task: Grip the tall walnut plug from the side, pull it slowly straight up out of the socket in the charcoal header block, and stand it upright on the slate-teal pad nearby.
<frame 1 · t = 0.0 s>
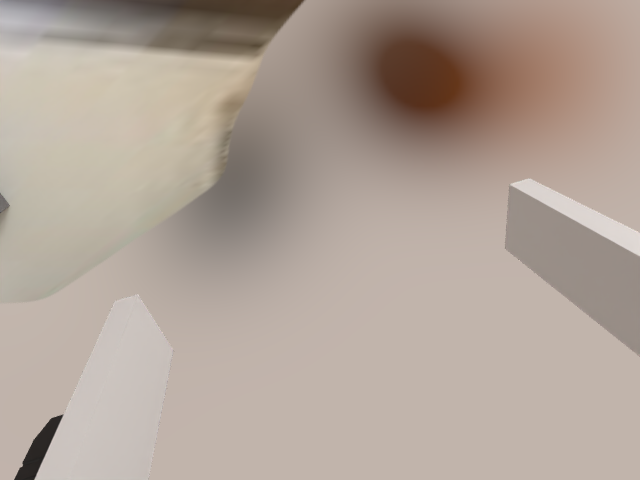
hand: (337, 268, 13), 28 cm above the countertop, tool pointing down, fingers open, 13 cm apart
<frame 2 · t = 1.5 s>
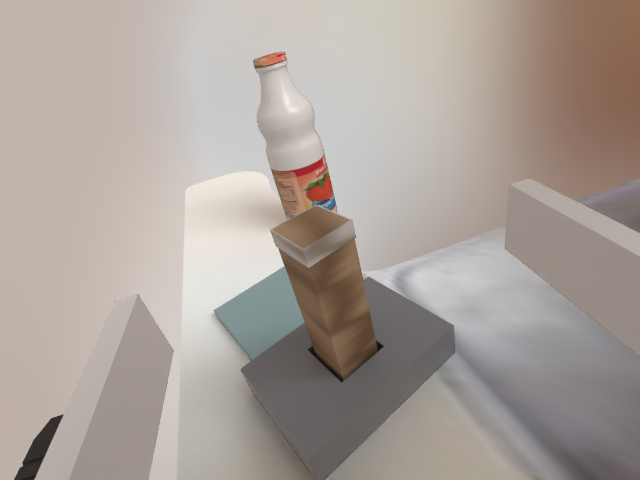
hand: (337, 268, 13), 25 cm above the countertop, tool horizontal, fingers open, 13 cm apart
walnut plug: (351, 369, 38), resting on header block
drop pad: (285, 303, 49), on the countertop
header block: (351, 372, 38), on the countertop
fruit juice: (313, 220, 67), on the countertop
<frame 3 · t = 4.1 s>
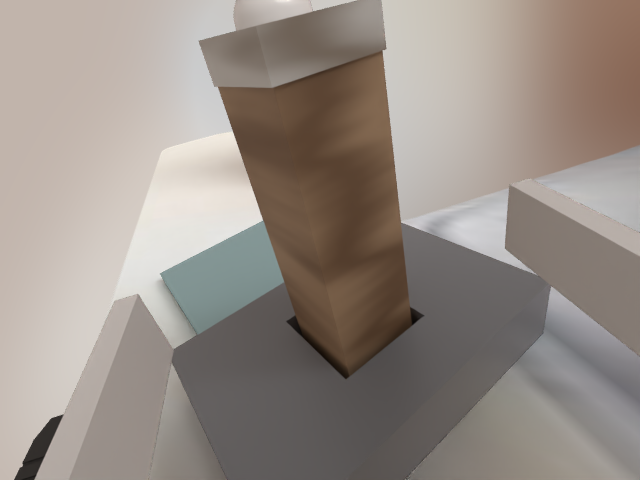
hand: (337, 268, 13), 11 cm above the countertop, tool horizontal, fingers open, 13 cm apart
walnut plug: (361, 359, 22), resting on header block
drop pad: (263, 264, 34), on the countertop
header block: (362, 365, 22), on the countertop
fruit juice: (310, 172, 52), on the countertop
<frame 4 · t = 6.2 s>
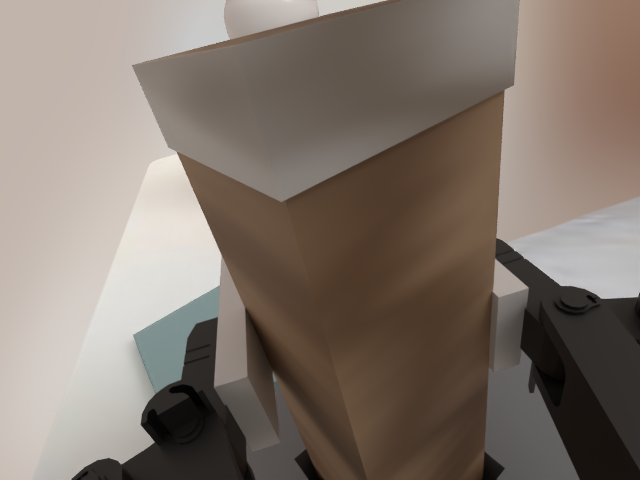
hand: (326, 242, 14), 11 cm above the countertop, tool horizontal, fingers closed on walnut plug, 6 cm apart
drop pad: (261, 324, 27), on the countertop
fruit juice: (315, 194, 45), on the countertop
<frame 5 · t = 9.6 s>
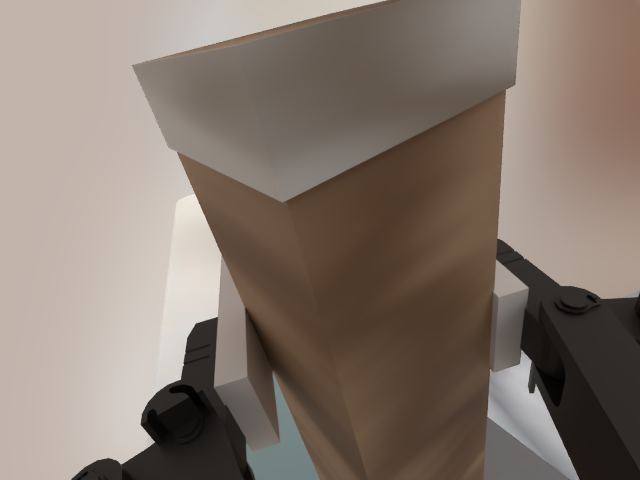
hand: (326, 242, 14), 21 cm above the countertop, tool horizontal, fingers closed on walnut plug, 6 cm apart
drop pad: (308, 408, 32), on the countertop
when the fingers open (12 cm above the countertop, at t = 13.2 s): walnut plug stays where it is, resting on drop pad.
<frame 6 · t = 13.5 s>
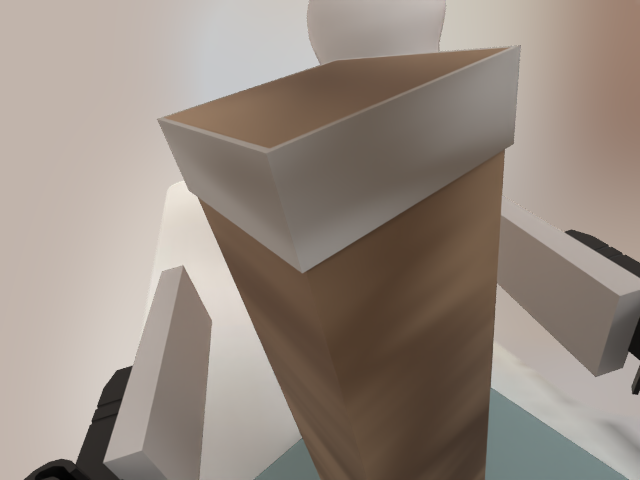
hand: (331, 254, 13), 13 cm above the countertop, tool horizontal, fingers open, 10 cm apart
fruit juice: (400, 249, 34), on the countertop
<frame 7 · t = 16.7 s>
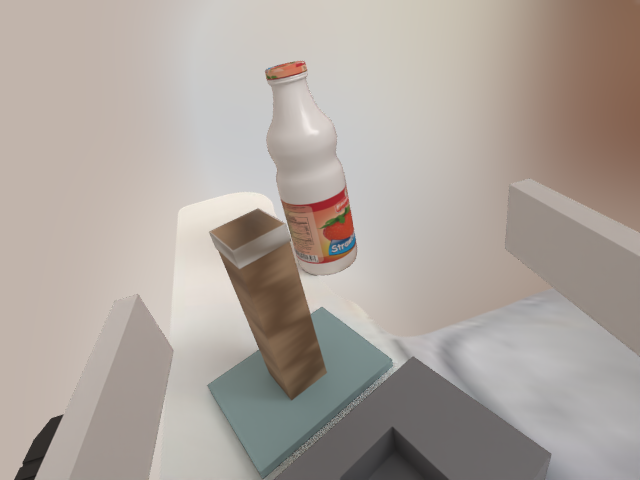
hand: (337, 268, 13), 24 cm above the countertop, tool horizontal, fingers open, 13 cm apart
walnut plug: (297, 373, 38), point 1 cm above the countertop, touching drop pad
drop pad: (299, 378, 39), on the countertop
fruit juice: (328, 259, 57), on the countertop
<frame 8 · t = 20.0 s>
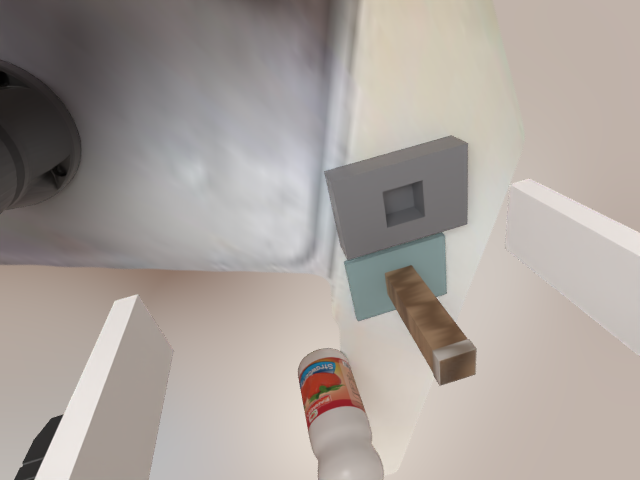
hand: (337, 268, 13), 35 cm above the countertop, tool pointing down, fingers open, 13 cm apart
walnut plug: (399, 279, 58), point 1 cm above the countertop, touching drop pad
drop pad: (397, 276, 59), on the countertop
header block: (393, 193, 51), on the countertop
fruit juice: (322, 364, 66), on the countertop
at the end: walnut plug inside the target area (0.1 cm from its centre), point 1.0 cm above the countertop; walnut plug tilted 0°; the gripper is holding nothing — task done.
